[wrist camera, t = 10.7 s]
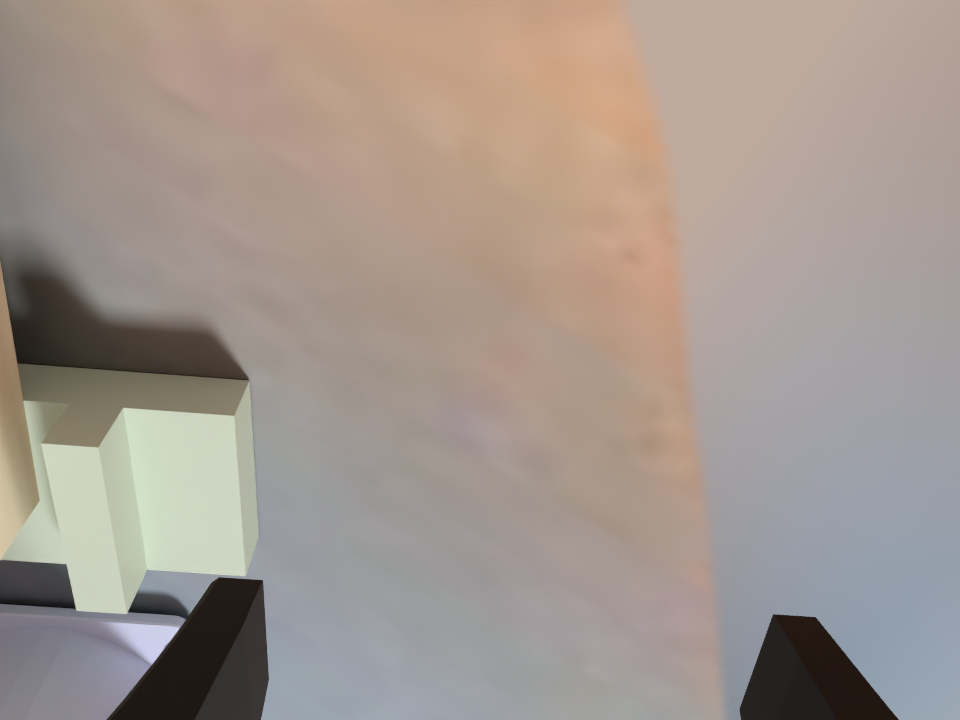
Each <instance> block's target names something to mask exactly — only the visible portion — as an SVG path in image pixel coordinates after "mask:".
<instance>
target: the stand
mask: <svg viewBox="0 0 960 720" xmlns="http://www.w3.org/2000/svg"><path fill="white" fill-rule="evenodd" d="M17 365H18V371H19V377H20V383H21V389H22V395H23V402H24V408H25V414H26V420H27V426H28V432H29V438H30V444H31V450H32V456H33V462H34V468H35V474H36V480H37V486H38V492H39V498H40V501H39V503H38V504H37V506H36V507H35V509H34V510H33V512H32V513H31V515H30V516H29V518H28V519H27V521H26V522H25V524H24V525H23V527H22V528H21V530H20V531H19V533H18V534H17V536H16V537H15V539H14V540H13V542H12V543H11V545H10V546H9V548H8V549H7V551H6V552H5V554H4V555H3V557H2V558H1V560H11V561H26V562H41V563H56V564H67V569H68V573H69V578H70V583H71V587H72V592H73V597H74V602H75V606H76V611H85V612H101V613H116V614H127V613H128V611H129V608H130V606H131V604H132V602H133V600H134V598H135V595H136V593H137V591H138V589H139V587H140V585H141V582H142V580H143V578H144V576H145V574H146V571H147V570H161V571H176V572H191V573H206V574H220V575H235V576H246V574H247V571H248V568H249V565H250V562H251V559H252V556H253V552H254V549H255V546H256V543H257V540H258V537H259V531H258V515H257V498H256V481H255V465H254V448H253V431H252V415H251V398H250V381H247V380H234V379H220V378H207V377H194V376H180V375H167V374H153V373H140V372H126V371H113V370H99V369H86V368H72V367H59V366H45V365H32V364H19V363H17Z"/></svg>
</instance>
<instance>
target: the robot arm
mask: <svg viewBox="0 0 960 720" xmlns="http://www.w3.org/2000/svg"><path fill="white" fill-rule="evenodd" d="M268 680H269V676H268V659H267V642H266V625H265V608H264V591H263V580H250V579H235V578H220V577H219V578H218V579H216V580H215V581H213V582H212V583H211V584H210V586H209V587H208V589H207V590H206V592H205V593H204V595H203V596H202V598H201V599H200V601H199V602H198V603H197V605H196V606H195V608H194V609H193V611H192V612H191V613H190V615H189V616H188V618H187V619H184V618H182V617H180V616H175V615H162V614H146V613H131V612H128V613H127V614H116V613H101V612H85V611H76V609H70V608H54V607H39V606H24V605H8V604H0V720H261V716H262V711H263V706H264V701H265V696H266V691H267V686H268ZM740 715H741V720H898V718H897V717H896V716H895V715H894V714H893V712H892V711H891V710H890V709H889V708H888V707H887V705H886V704H885V703H884V701H883V700H882V699H881V698H880V696H879V695H878V694H877V693H876V692H875V691H874V689H873V688H872V687H871V685H870V684H869V683H868V682H867V681H866V679H865V678H864V677H863V676H862V674H861V673H860V672H859V671H858V669H857V668H856V667H855V666H854V665H853V663H852V662H851V661H850V659H849V658H848V657H847V656H846V654H845V653H844V652H843V651H842V650H841V648H840V647H839V646H838V644H837V643H836V642H835V641H834V639H833V638H832V637H831V636H830V634H829V633H828V632H827V631H826V630H825V628H824V627H823V626H822V625H821V623H820V622H819V621H818V620H817V618H816V617H804V616H788V615H773V617H772V619H771V622H770V625H769V628H768V631H767V633H766V636H765V639H764V642H763V645H762V647H761V650H760V653H759V656H758V659H757V662H756V664H755V667H754V670H753V673H752V676H751V679H750V682H749V684H748V687H747V690H746V693H745V695H744V698H743V701H742V704H741V707H740Z"/></svg>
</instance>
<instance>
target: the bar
mask: <svg viewBox="0 0 960 720" xmlns="http://www.w3.org/2000/svg"><path fill="white" fill-rule="evenodd" d="M39 501H40V498H39V492H38V486H37V480H36V474H35V468H34V462H33V456H32V450H31V444H30V438H29V432H28V426H27V420H26V414H25V408H24V402H23V395H22V389H21V383H20V377H19V371H18V365H17V359H16V353H15V347H14V341H13V335H12V329H11V323H10V317H9V311H8V305H7V299H6V292H5V286H4V280H3V274H2V268H1V262H0V560H1V558H2V557H3V555H4V554H5V552H6V551H7V549H8V548H9V546H10V545H11V543H12V542H13V540H14V539H15V537H16V536H17V534H18V533H19V531H20V530H21V528H22V527H23V525H24V524H25V522H26V521H27V519H28V518H29V516H30V515H31V513H32V512H33V510H34V509H35V507H36V506H37V504H38V503H39Z"/></svg>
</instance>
